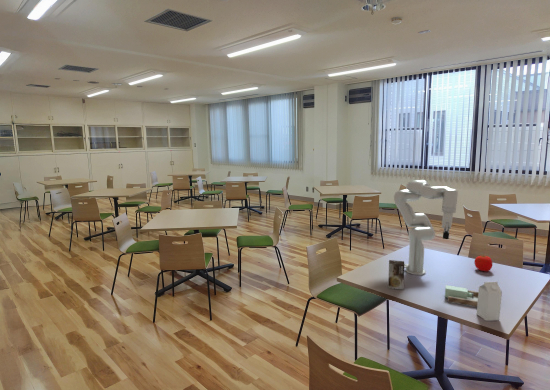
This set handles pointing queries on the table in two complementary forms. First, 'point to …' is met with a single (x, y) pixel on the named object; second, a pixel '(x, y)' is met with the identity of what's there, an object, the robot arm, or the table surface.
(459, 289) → the bottle
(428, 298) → the table surface
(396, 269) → the coffee box
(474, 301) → the brown white flat box
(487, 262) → the tomato
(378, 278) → the table surface
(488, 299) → the milk carton
